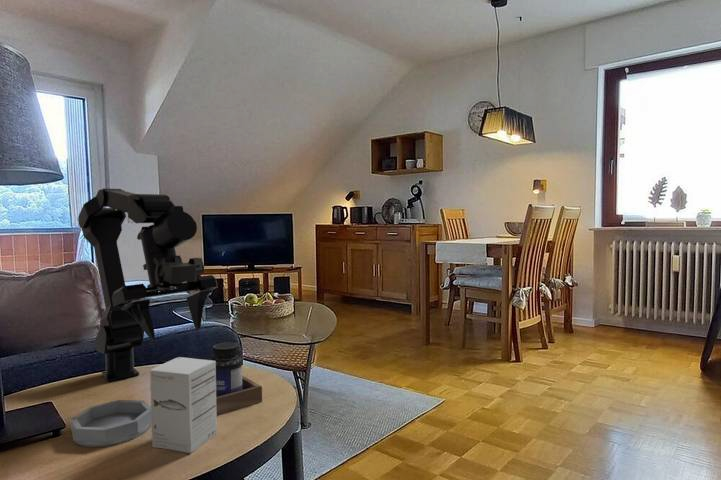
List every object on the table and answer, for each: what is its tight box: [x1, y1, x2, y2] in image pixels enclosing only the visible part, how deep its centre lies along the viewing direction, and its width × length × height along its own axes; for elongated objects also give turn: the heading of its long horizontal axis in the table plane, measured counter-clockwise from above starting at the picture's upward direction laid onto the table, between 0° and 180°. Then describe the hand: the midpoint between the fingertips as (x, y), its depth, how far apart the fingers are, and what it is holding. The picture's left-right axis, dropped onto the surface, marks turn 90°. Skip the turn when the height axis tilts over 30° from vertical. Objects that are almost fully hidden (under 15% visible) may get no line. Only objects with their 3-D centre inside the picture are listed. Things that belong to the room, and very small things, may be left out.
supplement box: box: [149, 356, 218, 454], centre depth 77 cm, size 7×7×13 cm
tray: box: [70, 399, 152, 448], centre depth 81 cm, size 12×12×3 cm
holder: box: [216, 375, 263, 416], centre depth 93 cm, size 10×10×3 cm
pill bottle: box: [210, 341, 243, 397], centre depth 93 cm, size 6×6×11 cm
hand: (176, 333), depth 91 cm, fingers open, 9 cm apart
